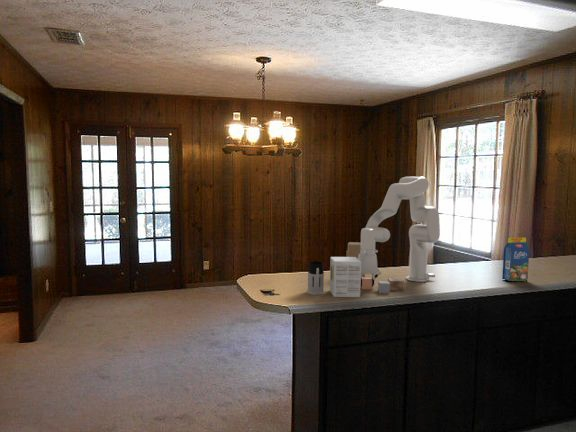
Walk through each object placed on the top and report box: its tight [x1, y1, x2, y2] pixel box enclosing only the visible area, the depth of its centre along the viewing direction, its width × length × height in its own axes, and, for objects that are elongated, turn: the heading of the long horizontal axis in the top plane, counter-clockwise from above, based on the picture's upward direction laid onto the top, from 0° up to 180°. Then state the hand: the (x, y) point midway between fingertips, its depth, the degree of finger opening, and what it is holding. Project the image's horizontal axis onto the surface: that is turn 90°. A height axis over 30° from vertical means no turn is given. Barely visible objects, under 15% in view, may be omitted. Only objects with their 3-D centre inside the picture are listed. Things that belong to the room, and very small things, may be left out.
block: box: [346, 241, 366, 278], centre depth 259 cm, size 10×10×20 cm
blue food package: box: [501, 237, 530, 282], centre depth 257 cm, size 6×12×25 cm, turn 104°
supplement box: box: [329, 256, 361, 298], centre depth 221 cm, size 13×13×18 cm
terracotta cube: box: [361, 277, 373, 290], centre depth 234 cm, size 5×5×5 cm
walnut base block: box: [387, 277, 404, 291], centre depth 234 cm, size 7×7×5 cm
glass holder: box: [306, 260, 325, 296], centre depth 220 cm, size 9×14×15 cm, turn 2°
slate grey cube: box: [377, 280, 391, 294], centre depth 227 cm, size 5×5×5 cm
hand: (366, 286), depth 235 cm, fingers closed on terracotta cube, 5 cm apart
